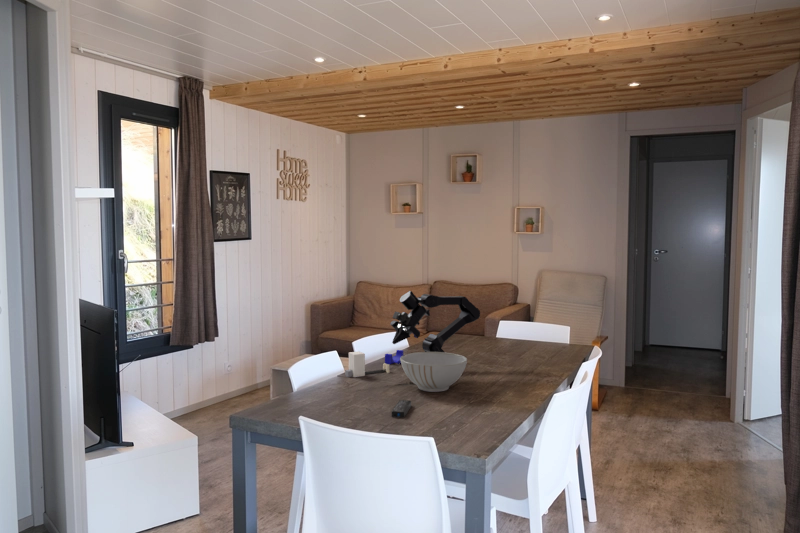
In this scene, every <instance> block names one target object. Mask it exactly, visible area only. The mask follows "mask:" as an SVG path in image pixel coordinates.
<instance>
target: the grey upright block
mask: <svg viewBox="0 0 800 533" xmlns="http://www.w3.org/2000/svg"><path fill="white" fill-rule="evenodd" d="M348 370H351V371H352V377H353V378H356V377H357V378H358V377H365V376H366V374H365V372H366V353H364V352H361V351H360V350H358V351H352V352H351V351H350V352H348Z"/></svg>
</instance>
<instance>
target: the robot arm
mask: <svg viewBox="0 0 800 533" xmlns="http://www.w3.org/2000/svg"><path fill="white" fill-rule="evenodd" d="M399 302H400V303H401V304H402V305H403V307H405V309H407V310H408V311H410V312H409V313H408V312H405V311H402V312H400V311H399V312H398V311H394V312H393V315H392V319H393V320H392V321H391V322H390V323H389V326H391V327H392V328H393V329H394V330H395V335H394V336H393V339H392V342H391V343H392V344H393V345H396V344H397V343H400V342H402V341H404V340H406V339H409V338H411V335H413V337H414V338H416V339H419V337H421V332H420V330H419V328H417V326H419V325H420V324H421V322H420V321H421V320H422V319H423V317H424V316H428V317H430V315H431V313H430V309H432V308H436V307H439V306H448V305H449V306H455V305H456V306H458V308H459V309H460V313H459V315H458V317H457V318H456V319H454V320H453V321H452V322H450V323H449V324H448V325H447V326H446V327H444V328H443V329H442V330H441V331H440V332H439V333H437V334H432V333H430V334H429V335H428V336H427V337H424V340H423V341H422V345H421V346H422V347H421V348H422V349H423V352H445V350H443V346H444V344H445V342H446V341H447V340H448V339H450V338H451V337H452V336H453V335H455V333H457V332H458V331H459V330H462V328H463V327H465V325H468V324H470V323H471V324H472V323H473V322H475V321H477V320H479V319H480V318H481V310H480V309H479V308H478V307H476V306H475V304H474V303H472V302H471V301H470V300H469V299H468V298H467V297H466V296H462V295H459V296H458V295H457V296H452V295H451V296H448V295H447V296H440V295H439V296H438V295H433V294H428V293H423V294H421V296H418V297H417V296H416V295H415V293H414V292H413V291H412V290H411V291H410V290H408V292H406V293H404V294H403V295H401V296H400V298H399ZM425 307H426V308H425Z"/></svg>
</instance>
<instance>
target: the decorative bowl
mask: <svg viewBox="0 0 800 533" xmlns="http://www.w3.org/2000/svg"><path fill="white" fill-rule="evenodd" d="M400 361H401V367H402V369H403V372H404V373H405V375H406V377H407V378H408V380H410V381H411V382H412V383H413V384H414V385H416V386H417V388H418V389H419V390H420V391H424V392H431V393H432V392H435V393H436V392H437V393H439V392H446V391H447V390H449V388H450V386H452V385H453V384H455V383H456V382H457V381H458V380H459V378H461V376H462V374H464V372H465V369H466V367H467V363H468V358H467V357H466V356H465V355H461V354H459V353H453V352H446V351H444V352H425V351H419V352H412V353H411V352H410V353H406V354H405V355H404V354H403V356H402V357H401V358H400Z"/></svg>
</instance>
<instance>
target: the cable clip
mask: <svg viewBox="0 0 800 533" xmlns="http://www.w3.org/2000/svg"><path fill="white" fill-rule="evenodd" d="M403 355H404V350H402V349H397V350H396V353H395V355H393V353H385V354H384V363H386V364H387V365H392V364H397V365H400V364H399V363H401V361H400V358H401V357H402V356H403Z"/></svg>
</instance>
